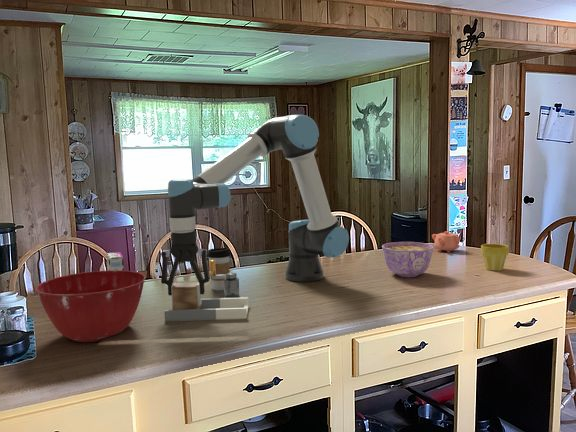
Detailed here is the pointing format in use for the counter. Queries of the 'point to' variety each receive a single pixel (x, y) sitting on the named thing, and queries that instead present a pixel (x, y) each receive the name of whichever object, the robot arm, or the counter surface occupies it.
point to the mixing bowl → (92, 303)
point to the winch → (231, 289)
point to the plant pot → (494, 256)
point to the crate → (185, 295)
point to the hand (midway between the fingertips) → (187, 304)
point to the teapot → (446, 241)
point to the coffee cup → (219, 265)
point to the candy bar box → (115, 261)
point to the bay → (212, 310)
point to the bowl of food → (407, 257)
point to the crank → (213, 273)
